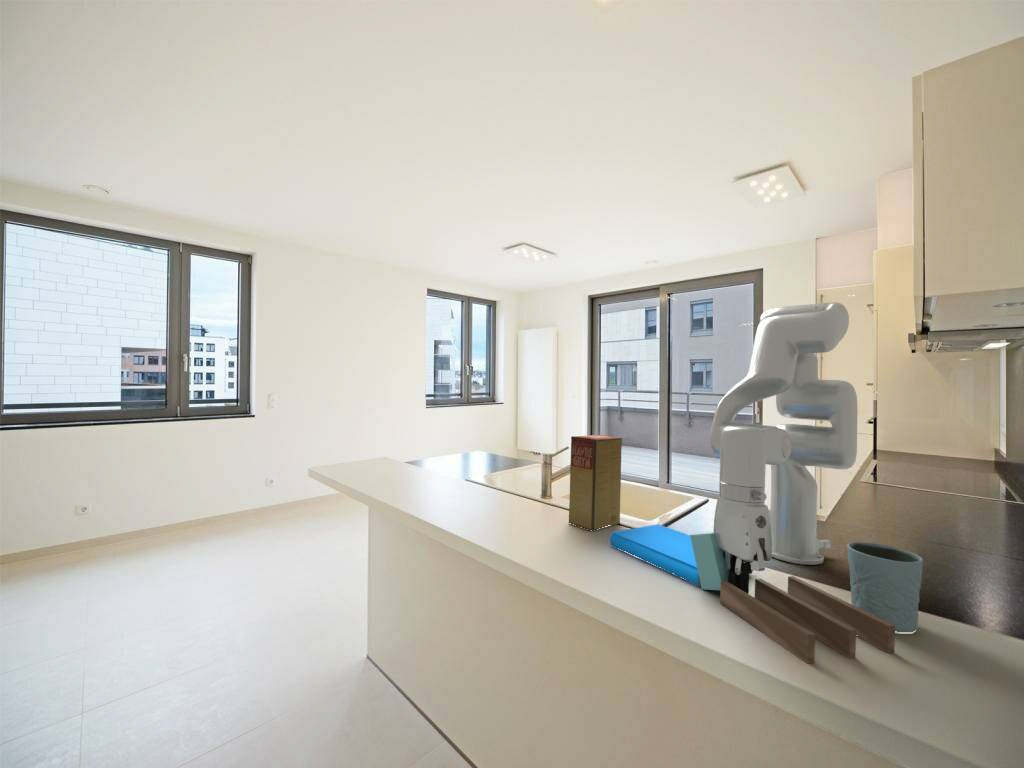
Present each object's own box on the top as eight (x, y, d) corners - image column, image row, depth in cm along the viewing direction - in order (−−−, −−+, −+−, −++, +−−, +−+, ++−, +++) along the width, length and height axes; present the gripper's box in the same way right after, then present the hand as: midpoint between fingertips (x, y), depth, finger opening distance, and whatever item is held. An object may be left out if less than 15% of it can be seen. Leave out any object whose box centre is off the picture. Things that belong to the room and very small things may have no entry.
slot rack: (792, 597, 84) (793, 576, 84) (894, 652, 67) (895, 625, 67) (720, 603, 81) (720, 581, 81) (807, 663, 63) (808, 635, 63)
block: (719, 585, 88) (707, 532, 92) (741, 586, 84) (727, 531, 87) (701, 589, 86) (689, 535, 89) (723, 590, 82) (709, 533, 85)
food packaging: (595, 516, 136) (598, 434, 136) (621, 523, 129) (624, 437, 129) (566, 523, 127) (569, 435, 127) (593, 532, 120) (596, 439, 120)
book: (657, 524, 118) (749, 554, 96) (657, 540, 117) (749, 574, 96) (609, 532, 109) (699, 567, 87) (608, 550, 109) (698, 589, 87)
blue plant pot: (900, 642, 70) (902, 565, 70) (832, 611, 79) (833, 544, 79) (934, 630, 74) (936, 558, 74) (866, 603, 83) (867, 538, 83)
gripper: (792, 503, 76) (789, 611, 76) (729, 484, 90) (726, 575, 90) (755, 503, 74) (752, 614, 74) (697, 484, 89) (694, 577, 88)
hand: (738, 592), depth 82 cm, fingers closed
